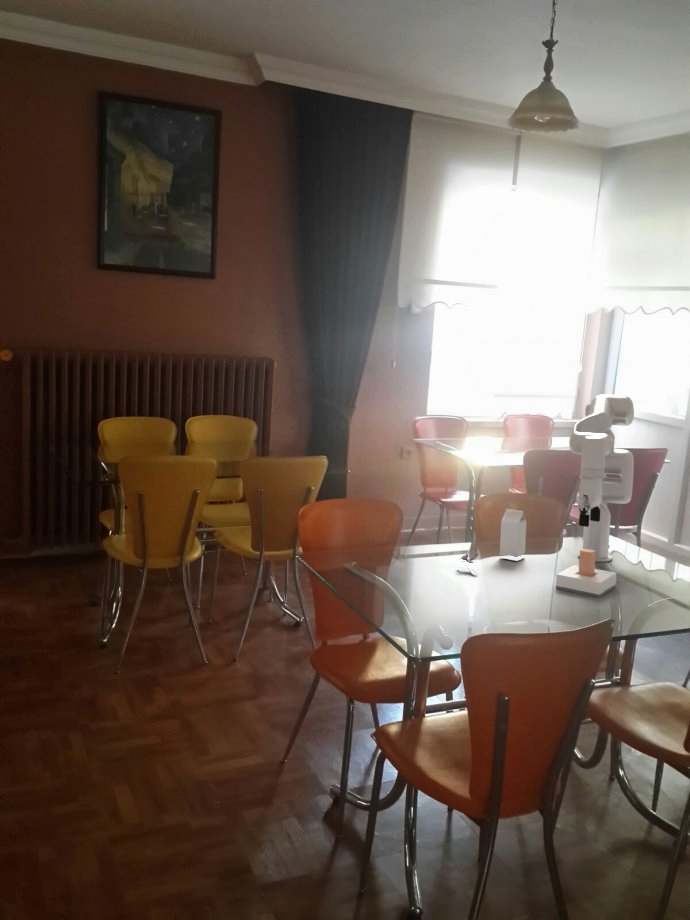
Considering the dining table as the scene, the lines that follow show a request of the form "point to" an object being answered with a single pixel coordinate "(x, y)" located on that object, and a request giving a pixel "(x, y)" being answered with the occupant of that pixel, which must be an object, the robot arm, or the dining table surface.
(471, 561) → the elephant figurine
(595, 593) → the socket block
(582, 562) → the peg
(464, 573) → the dining table surface
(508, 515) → the milk carton
